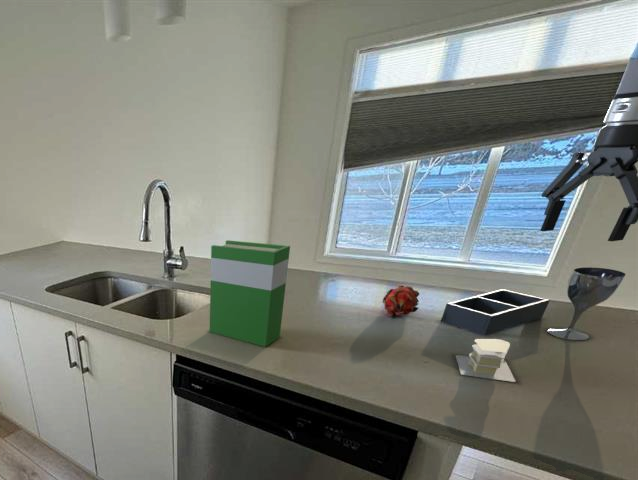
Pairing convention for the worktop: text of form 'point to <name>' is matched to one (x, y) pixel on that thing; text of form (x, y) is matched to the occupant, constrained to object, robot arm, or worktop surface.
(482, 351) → the stacked layers on plate
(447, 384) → the worktop surface
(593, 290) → the wine glass
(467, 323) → the divided tray
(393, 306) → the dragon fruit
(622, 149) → the robot arm
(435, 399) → the worktop surface
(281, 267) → the hardback book
